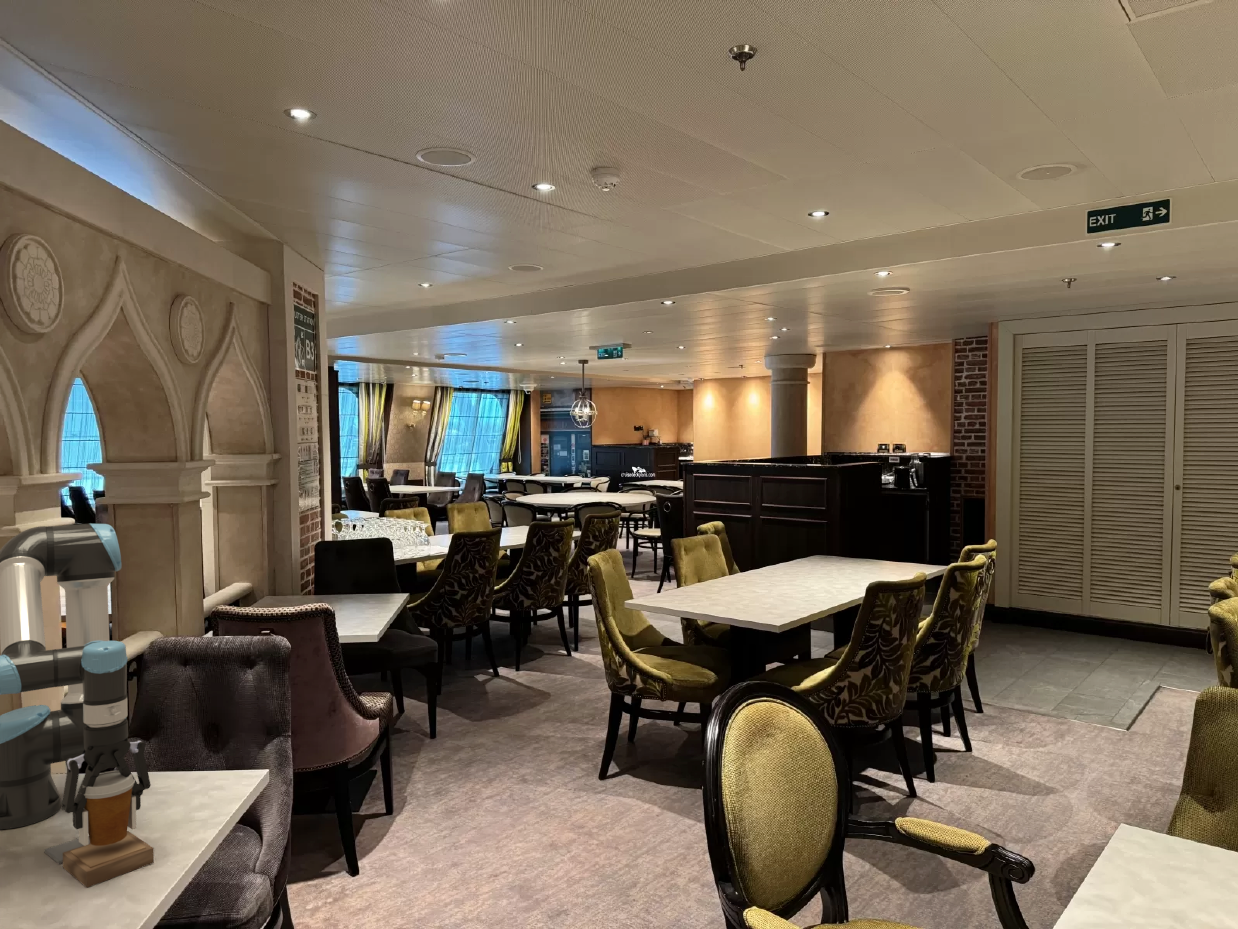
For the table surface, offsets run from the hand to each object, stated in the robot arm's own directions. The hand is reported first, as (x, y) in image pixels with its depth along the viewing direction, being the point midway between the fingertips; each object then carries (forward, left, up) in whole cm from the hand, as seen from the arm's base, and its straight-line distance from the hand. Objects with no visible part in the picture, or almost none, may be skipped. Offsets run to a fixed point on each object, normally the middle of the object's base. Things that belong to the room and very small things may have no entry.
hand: (108, 834), depth 169 cm
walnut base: (0, 0, -6) cm, 6 cm away
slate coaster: (-12, -2, -6) cm, 14 cm away
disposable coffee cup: (0, 0, -1) cm, 1 cm away
